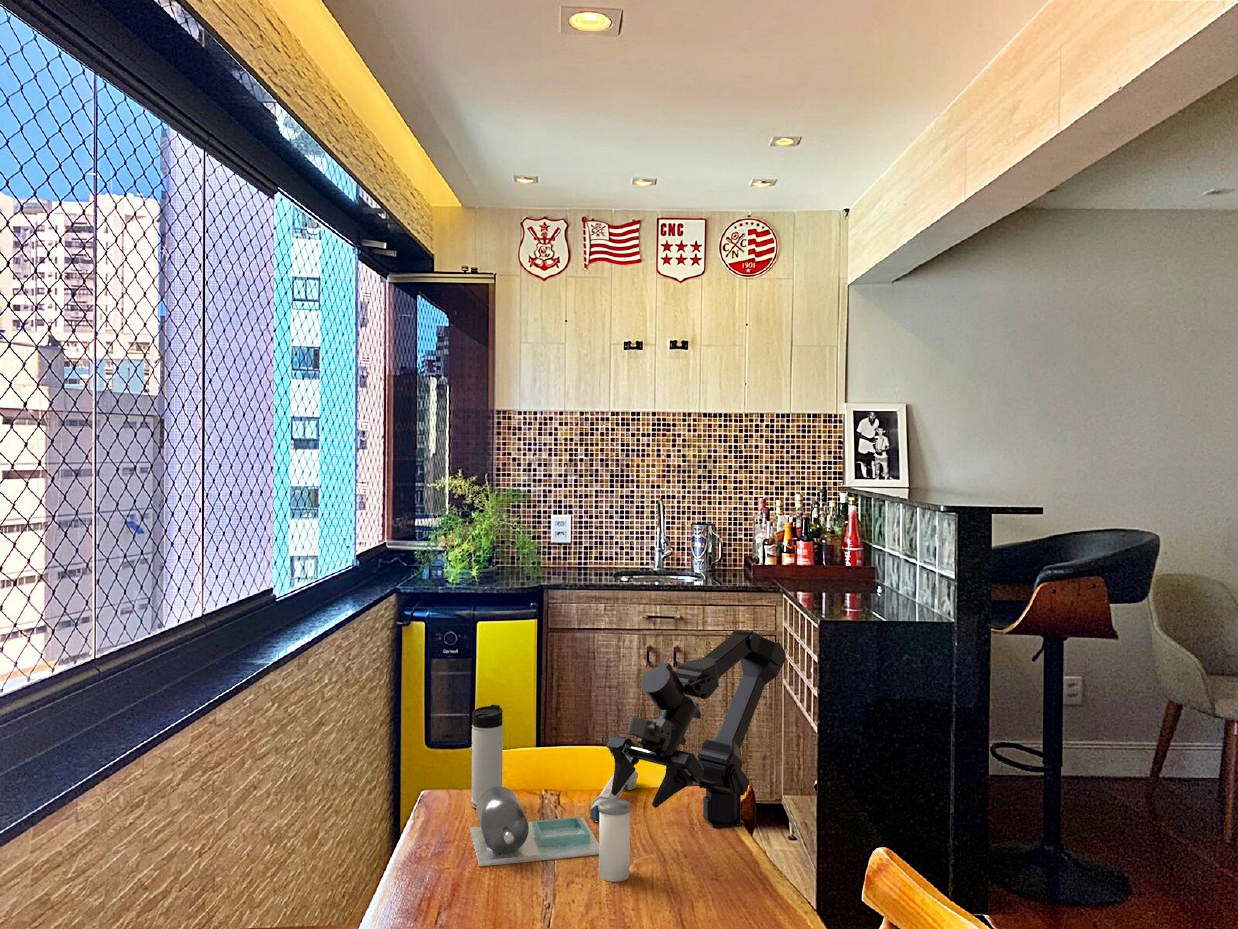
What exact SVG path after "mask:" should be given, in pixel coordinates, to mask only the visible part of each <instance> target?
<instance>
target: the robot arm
mask: <svg viewBox="0 0 1238 929" xmlns="http://www.w3.org/2000/svg"><path fill="white" fill-rule="evenodd" d="M786 654H787V653H786V650H785V649H784V648H783V646H782V644H781V643H780V642H777V641H776V642H775V641H773V640H770V639H767V638H765V637H763V636H762V635H760V634H758V633H756V632H755V631H751V630H743V629H735V630H733V631H732V633H731V634H730V636H729V637H726V639H725V640H723V641H722V642H721V643H719V644H718V645H717V646H715V648H713V649H712V650H711V651H710V652H708V653H707V654H705V656H703V657H700V658H698V659H697V658H696V659H691V660H689V661H686V662H684V663H682V664H680V665H678V667H676V669H675V670H674V669H673V666H672V665H671V664H670V663H669V662H664V661H660V663H659V664H658V666H655V667H652V668H651V669H649V670H648V671H647V672H646V673H644V674H642V677H641V679H640V686H641V688H642V690H643V692H644V693H645V695H646V696H647V697H648V698H649V700H650V701H651V703H652V704H653V705H654V706H655V708H656V709H658V710H660V713H659V715H658V716H657V718H653V717H652V718H651V719H650V720H649V719H646V718H641V717H635V716H632V717H631V720H630V722H629V728H628V730H627V735H628V736H633V737H636V738H637V740H636V742H637V743H638V744H639V745H642V747H637V745H636V744H635V743H634V742H633V740H632V739H631V738H630V737H626V736H622V735H618V734H615V735H611V737H609V740H608V742H607V743H606V744H605V747H606V748H607V749H608V751H609V753H610V754H611V756H612V757H613V758H614V759H613V760H614V771H613V774H614V777H613V784H612V790H611V793H612V794H613V795H614V796H616V795H617V794H618V792H619V791H620V790H621V789H622V787H623V786H624V785H625V783H626V782H627V781H628V779H629V778H630V776H631V775H632V774H633V772H634V771H635V770H636V767H635V766H637V764H638V763H639V761H640V760H641V761H643V762H648V763H653V764H657V765H660V766H663V767H665V773H664V774H665V775H664V777H663V779H662V781H661V783H660V785H659V786H658V787H659V788H658V789H657V791H656V793H655V795H654V797H653V800H652V803H651V805H652V807H653V808H655V809H656V808H658V807H660V806H661V805H662V804H664V803H665V802H666V801H667V800H669V799H671V797H673V796H674V795H676V794H677V793H678V792H680V791H682V790H683V789H685V788H686V787H692V786H693V784H694V783H695V784H698V787H699V788H700V789H705V796H703V804H702V807H703V808H702V810H703V812H702V813H703V814H702V817H703V819H704V820H705V821H706V820H707V821H708V822H709V823H710V824H711V825H712V826H713V827H712V826H711V825H710V824H709V823H708V822H707V823H708V824H709V825H710V826H711V827H712V828H724V827H735V826H744V825H745V821H744V820H742V815H741V814H742V813H741V812H742V808H741V806H742V805H741V802H742V796H745V795H746V793H747V792H748V789H749V785H750V784H749V783H750V779H749V778H748V777H747V776H746V774H745V773H744V771H743V770H742V768H743V764H744V760H743V756H742V751H741V746H742V744H743V742H744V740H745V736H746V735H747V732H748V731H749V730H748V729H749V727H750V724H751V723H752V720H753V717H754V714H755V712H756V709H757V707H758V704H759V701H760V700H761V696H762V694H763V692H764V689H765V687H766V685H768V683H770V682H771V681H772V680H774V679H775V678H777V676H778V675H779V674H780V671H781V669H782V667H783V666H784V663H785V661H786V658H787V655H786ZM739 662H740V664H741V670H742V676H741V679H740V680H739V683H738V685H737V688H736V690H735V694H734V695H733V698H732V700H731V703H730V705H729V708H728V710H727V712H726V715H725V717H724V720H723V722H722V724H721V727H720V730H719V732H718V734H717V736H716V737H715V738H713V739H712V740H711V739H708V738H707V739H705V740H704V741H703V743H702V746H701V749H700V751H699V753H698V754H697V755H696V756H695V754H694V753H693V752H688V751H684V750H680V749H678V748H679V747H680V745H682V746H685V744H686V742H687V739H686V738H685V734H686V732H687V731H688V729H689V726H690V725H691V723H692V721H693V719H697V720H700V719H702V713H701V710H700V705H699V703H697V702H696V703H695V702H694V700H693V699H692V698H696V699H700V700H707V699H709V698H710V697H711V696H712V695H713V694H714V692H715V691H716V690H717V689H718V688H719V686H720V685H719V684H720V682H719V681H720V679H721V677H722V676H723V675H725V673H727V672H728V671H730V669H731V668H733V667H734V666H735V665H736V664H738V663H739Z"/></svg>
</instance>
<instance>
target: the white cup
mask: <svg viewBox="0 0 1238 929" xmlns="http://www.w3.org/2000/svg"><path fill="white" fill-rule="evenodd" d="M598 810H599V823H598V825H599V826H598V828H599V829H598V830H599V831H598V832H599V833H598V834H599V837H598V840H599V841H598V843H599V855H598V858H599V860H598V876H599V878H600V879H601V880H603V881H607V882H613V883H615V882H616V883H617V882H618V883H619V882H622V881H623V882H624V881H625V880H627V879H629V878H630V876H631V875H630V873H631V872H630V871H631V870H630V868H631V864H630V863H631V858H630V856H631V855H630V854H631V846H630V845H631V834H630V833H631V811H632V803H631V802H630V801H629V800H625V799H620V798H619V799H608V800H604V801H601V802H600V803H599V804H598Z"/></svg>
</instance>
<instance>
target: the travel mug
mask: <svg viewBox="0 0 1238 929" xmlns="http://www.w3.org/2000/svg"><path fill="white" fill-rule="evenodd" d="M503 711H504V710H503V708H502V707H501V706H500V705H499V704H490V705H485V706H480V707H478V708H475V709H474V710H473V711H472V714H471V715H472V718H471V721H472V722H471V723H472V725H471V727H472V728H471V805H472V804H473V805H474V806H475V807H477V803H478V800H479V798H480V797H481V795H482V794H483V793H484V792H485V791H487V790H488V789H490V788H493V787H503V762H504V761H503V754H504V753H503V752H504V751H503V748H504V747H503V746H504V745H503V744H504V742H503V740H504V738H503V736H504V735H503V734H504V732H503V731H504V730H503V728H504V727H503V726H504V723H503V713H504V712H503Z"/></svg>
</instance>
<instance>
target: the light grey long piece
mask: <svg viewBox="0 0 1238 929" xmlns="http://www.w3.org/2000/svg"><path fill="white" fill-rule="evenodd" d="M613 777H614V773H613V774H612V776H611V777H610V779H609V781H608V782H607V784H606V785H605V786H604V788H603V789H602V791H601V792H600V794H599V795H598V796H597V797H596V798H595V799H594V800H593V801H592V807H591V808H590V810H589V818H590V820H591V821H592V822H593V821H598V822H599V810H598V804H599V803H600V802H601V801H604V800H608V799H620V797H621V795H622V792H624V791H623V790H631V791H632V790H633V789H636V788H637V785H638V784H637V782H638V781H637V780H638V778H639V773H638V771H637V770H636V769H635V771H634V772H633V774H632V775H631V776H630V778H629V779H628V781H627V782H626V783H625V785H624V786H623V787H622V789H621V790H620V791H619V792H618V794H617V795H616V796H614V795H613V794H612V793H611V790H612V784H613Z"/></svg>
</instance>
